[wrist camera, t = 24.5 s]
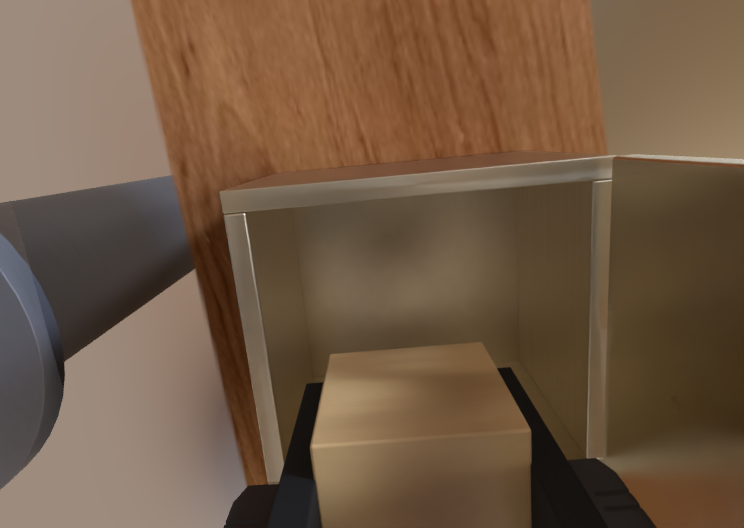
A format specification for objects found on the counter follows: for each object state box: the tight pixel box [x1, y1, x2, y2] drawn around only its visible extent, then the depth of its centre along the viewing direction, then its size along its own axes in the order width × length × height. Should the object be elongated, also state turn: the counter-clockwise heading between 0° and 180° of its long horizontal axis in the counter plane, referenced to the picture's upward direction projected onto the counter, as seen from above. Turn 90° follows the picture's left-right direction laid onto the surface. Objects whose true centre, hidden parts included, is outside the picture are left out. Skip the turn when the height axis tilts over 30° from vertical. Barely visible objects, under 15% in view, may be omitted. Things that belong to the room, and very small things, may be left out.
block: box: [310, 342, 532, 528], centre depth 12 cm, size 4×4×4 cm
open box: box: [219, 150, 616, 484], centre depth 23 cm, size 14×13×10 cm
